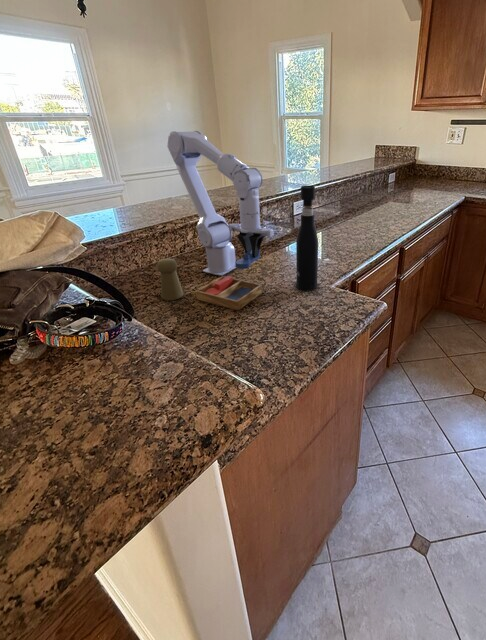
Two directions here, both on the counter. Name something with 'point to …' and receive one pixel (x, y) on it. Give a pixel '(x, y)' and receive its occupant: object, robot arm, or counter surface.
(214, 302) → the wooden sorting tray
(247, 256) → the blue spoon
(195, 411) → the counter surface
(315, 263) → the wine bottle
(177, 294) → the olive green pawn
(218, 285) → the red spoon
